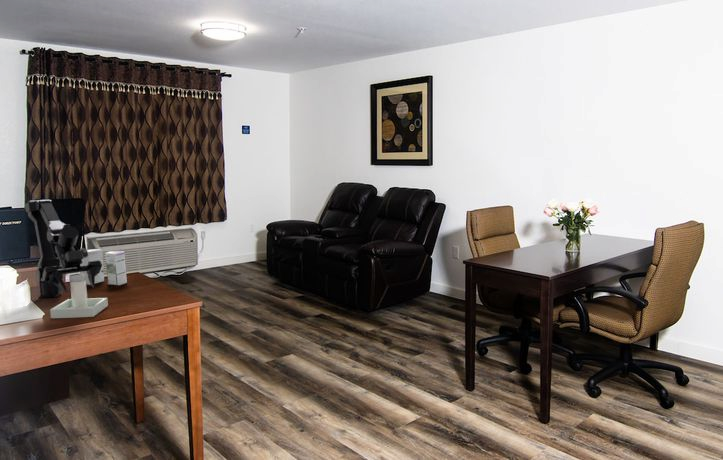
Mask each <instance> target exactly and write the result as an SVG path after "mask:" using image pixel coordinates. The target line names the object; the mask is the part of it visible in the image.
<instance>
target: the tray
mask: <svg viewBox="0 0 723 460" xmlns="http://www.w3.org/2000/svg"><path fill="white" fill-rule="evenodd" d="M87 300H88V308H72V298H67V299H66V300H64V301H63V302H61V303H59V304H57V305H56V306H54V307H52V308H51V309H50V310H49V311H50V312H49V313H50V319H69V318H70V319H73V318H93V317H95V316H96V315H98V314H99V313H100V312H102V311H103V310H104V309H106V308H107V307H109V302H108V301H109V300H108V297H95V298H93V297H91V298H90V297H89V298H88V297H87Z"/></svg>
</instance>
